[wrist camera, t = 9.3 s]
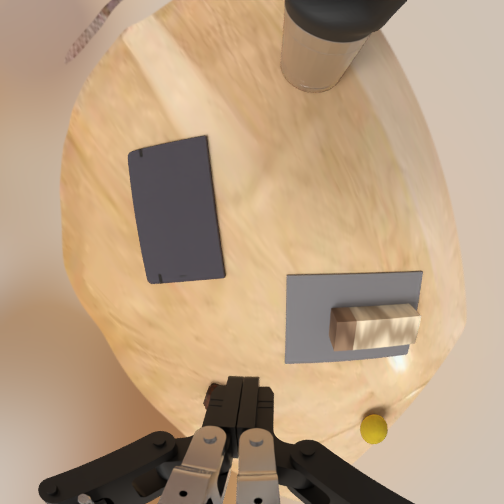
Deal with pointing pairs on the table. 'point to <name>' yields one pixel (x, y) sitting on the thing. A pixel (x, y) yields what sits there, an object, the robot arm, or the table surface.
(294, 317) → the rubber mat
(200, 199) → the notebook
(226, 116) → the table surface
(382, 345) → the tall block
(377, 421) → the lemon
